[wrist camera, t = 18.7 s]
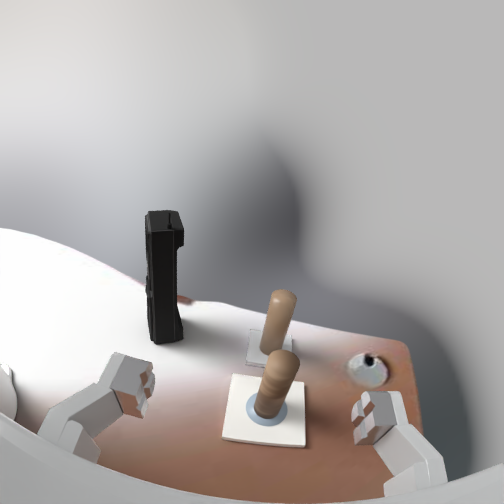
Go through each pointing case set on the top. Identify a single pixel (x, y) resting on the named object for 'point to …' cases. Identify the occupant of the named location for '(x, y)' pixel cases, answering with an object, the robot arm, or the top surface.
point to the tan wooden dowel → (272, 329)
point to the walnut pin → (276, 383)
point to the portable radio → (163, 275)
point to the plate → (259, 429)
